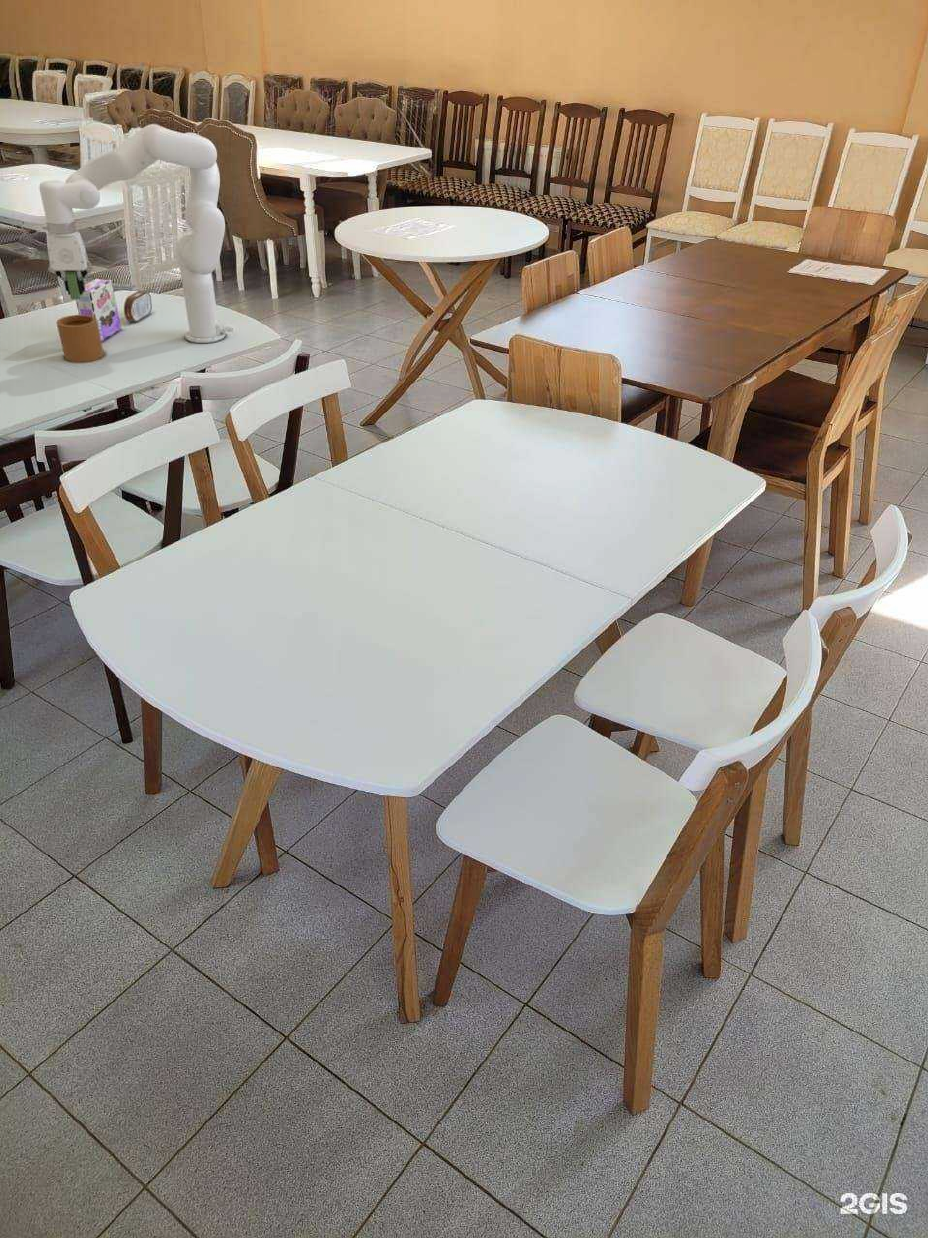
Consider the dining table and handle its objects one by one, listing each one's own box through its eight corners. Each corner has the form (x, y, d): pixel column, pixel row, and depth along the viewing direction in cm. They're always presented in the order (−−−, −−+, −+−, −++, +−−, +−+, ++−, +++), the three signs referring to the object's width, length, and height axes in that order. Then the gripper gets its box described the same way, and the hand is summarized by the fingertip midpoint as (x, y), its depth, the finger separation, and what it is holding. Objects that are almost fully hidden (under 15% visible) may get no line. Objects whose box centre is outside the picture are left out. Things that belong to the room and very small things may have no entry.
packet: (83, 293, 276) (77, 266, 272) (80, 299, 272) (74, 271, 267) (74, 293, 276) (68, 266, 271) (70, 299, 271) (64, 271, 267)
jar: (106, 348, 290) (98, 314, 283) (100, 361, 280) (93, 325, 274) (68, 350, 288) (60, 315, 281) (62, 362, 279) (53, 327, 272)
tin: (147, 311, 321) (142, 286, 316) (155, 312, 321) (151, 287, 316) (125, 324, 309) (120, 299, 304) (134, 325, 309) (129, 300, 304)
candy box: (100, 343, 294) (89, 290, 284) (83, 341, 295) (72, 289, 285) (122, 329, 305) (112, 279, 295) (106, 328, 306) (95, 277, 296)
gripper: (30, 231, 258) (45, 297, 269) (89, 230, 261) (102, 296, 272) (35, 225, 264) (50, 290, 275) (93, 224, 267) (106, 289, 278)
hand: (76, 292), depth 273 cm, fingers closed on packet, 2 cm apart
